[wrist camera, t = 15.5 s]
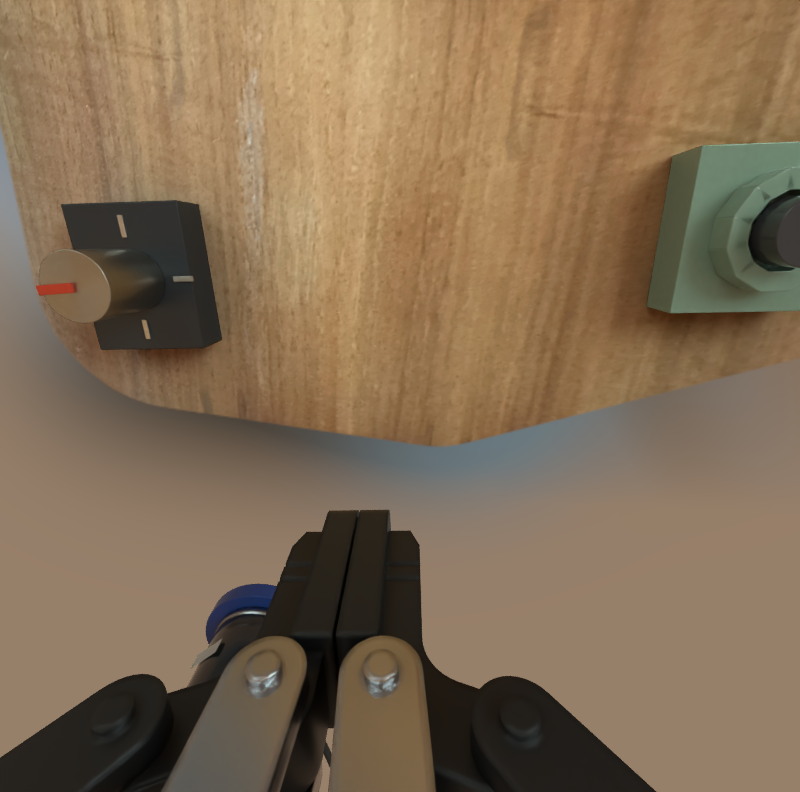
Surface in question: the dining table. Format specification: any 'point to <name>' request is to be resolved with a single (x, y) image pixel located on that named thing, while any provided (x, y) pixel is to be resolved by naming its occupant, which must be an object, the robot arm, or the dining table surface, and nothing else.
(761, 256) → the button
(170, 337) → the panel
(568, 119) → the dining table surface
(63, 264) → the knob
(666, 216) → the button base
